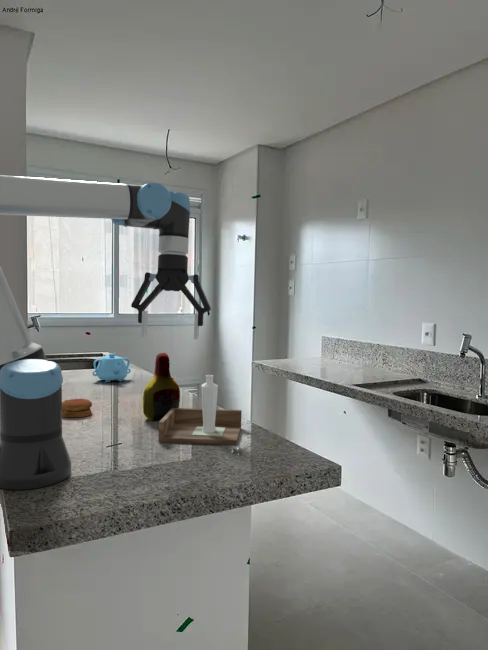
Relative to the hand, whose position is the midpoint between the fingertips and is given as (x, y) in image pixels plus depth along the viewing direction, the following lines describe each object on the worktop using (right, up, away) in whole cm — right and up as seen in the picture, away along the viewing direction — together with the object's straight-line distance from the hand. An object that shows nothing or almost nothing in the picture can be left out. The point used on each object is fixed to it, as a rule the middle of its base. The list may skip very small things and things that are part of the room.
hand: (169, 337), depth 127 cm
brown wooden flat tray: (+8, -26, +7) cm, 28 cm away
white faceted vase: (+10, -25, +5) cm, 28 cm away
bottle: (-6, -25, +24) cm, 35 cm away
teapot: (-38, -21, +86) cm, 96 cm away
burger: (-33, -25, +27) cm, 50 cm away
